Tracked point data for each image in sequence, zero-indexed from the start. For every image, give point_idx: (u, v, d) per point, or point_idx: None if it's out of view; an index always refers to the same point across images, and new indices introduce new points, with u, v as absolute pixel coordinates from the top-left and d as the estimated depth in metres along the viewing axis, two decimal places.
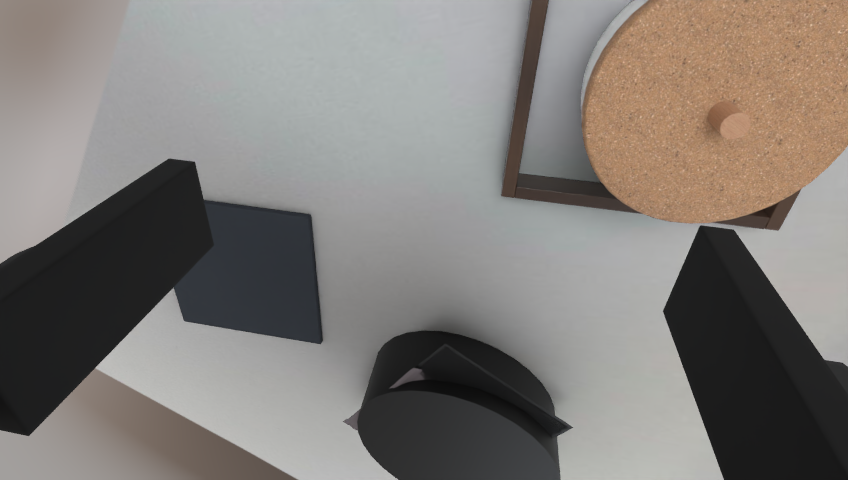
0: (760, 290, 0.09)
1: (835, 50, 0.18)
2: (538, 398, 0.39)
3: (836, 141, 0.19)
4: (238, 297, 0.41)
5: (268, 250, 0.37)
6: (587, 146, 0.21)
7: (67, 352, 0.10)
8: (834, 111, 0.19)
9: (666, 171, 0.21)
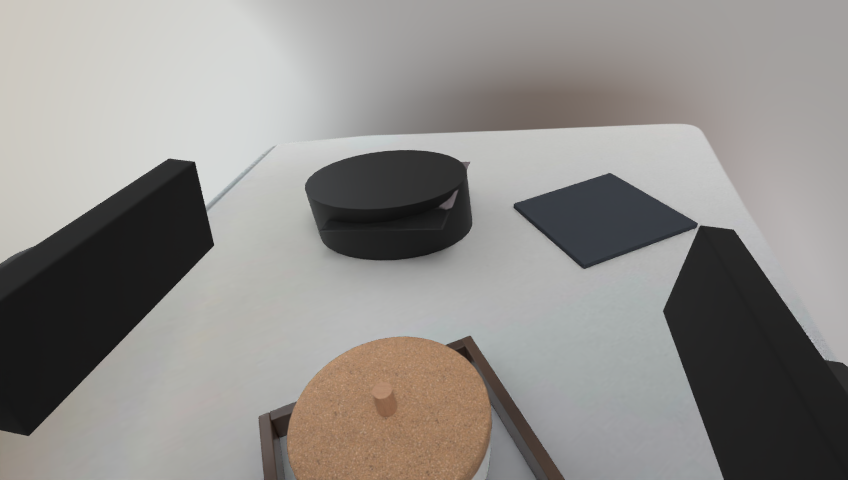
0: (760, 290, 0.09)
1: (343, 477, 0.22)
2: (348, 241, 0.50)
3: (298, 434, 0.25)
4: (588, 201, 0.53)
5: (593, 234, 0.48)
6: None
7: (67, 352, 0.10)
8: (314, 447, 0.24)
9: (395, 363, 0.27)
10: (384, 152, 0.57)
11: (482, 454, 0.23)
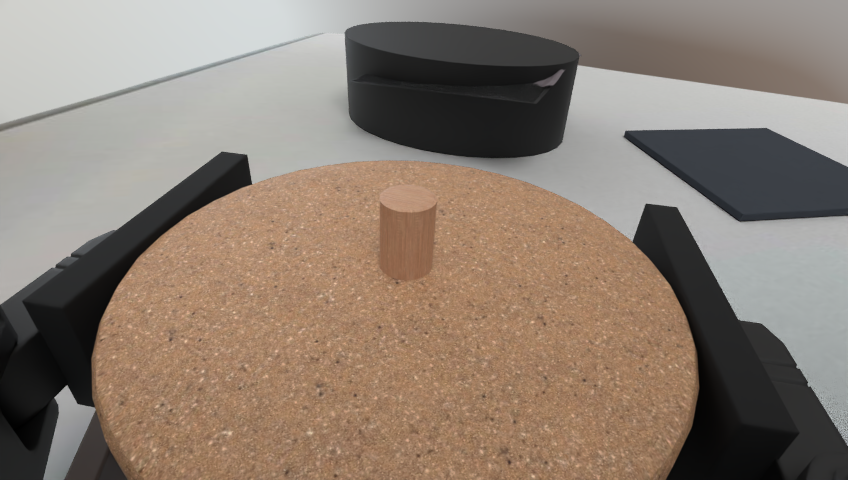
0: (690, 259, 0.10)
1: (223, 394, 0.07)
2: (386, 113, 0.34)
3: (159, 263, 0.09)
4: (738, 148, 0.36)
5: (752, 183, 0.31)
6: (584, 208, 0.12)
7: None
8: (181, 298, 0.08)
9: (443, 194, 0.12)
10: (462, 25, 0.41)
11: (681, 447, 0.07)
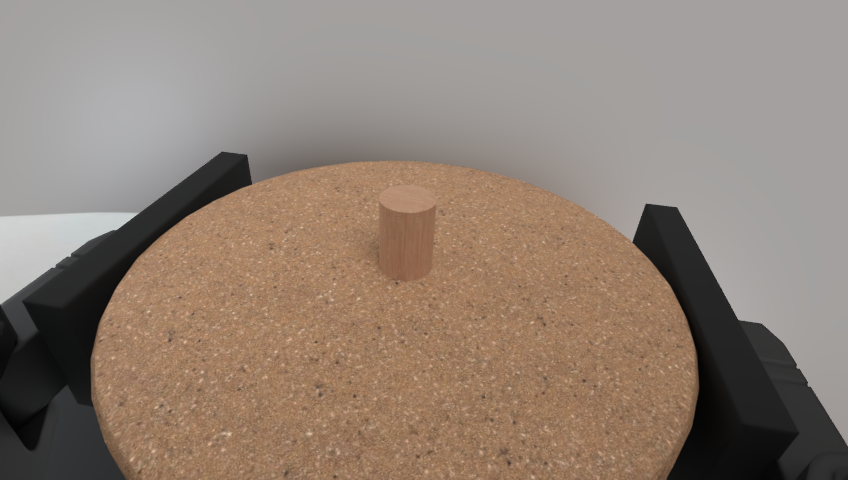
0: (690, 259, 0.10)
1: (222, 395, 0.07)
2: None
3: (158, 264, 0.09)
4: None
5: None
6: (584, 209, 0.12)
7: None
8: (181, 298, 0.08)
9: (443, 194, 0.12)
10: None
11: (681, 447, 0.07)
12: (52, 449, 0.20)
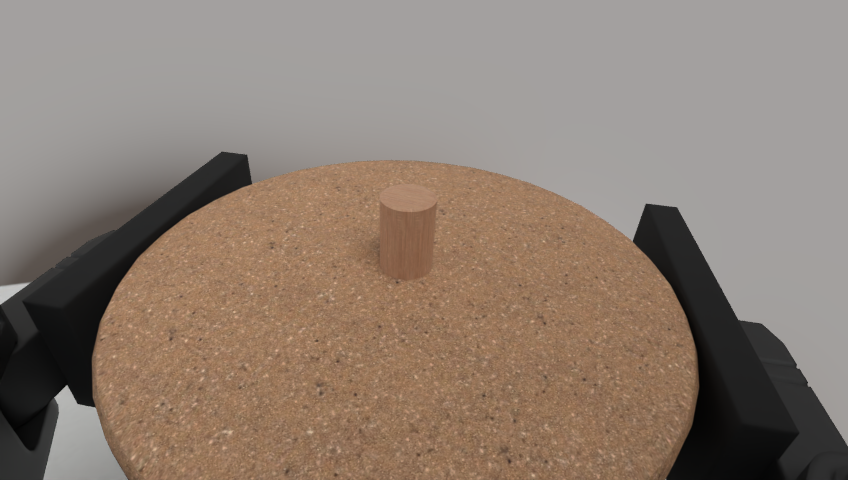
0: (690, 259, 0.10)
1: (223, 393, 0.07)
2: None
3: (158, 263, 0.09)
4: None
5: None
6: (584, 208, 0.12)
7: None
8: (182, 297, 0.08)
9: (443, 194, 0.12)
10: None
11: (681, 446, 0.07)
12: None
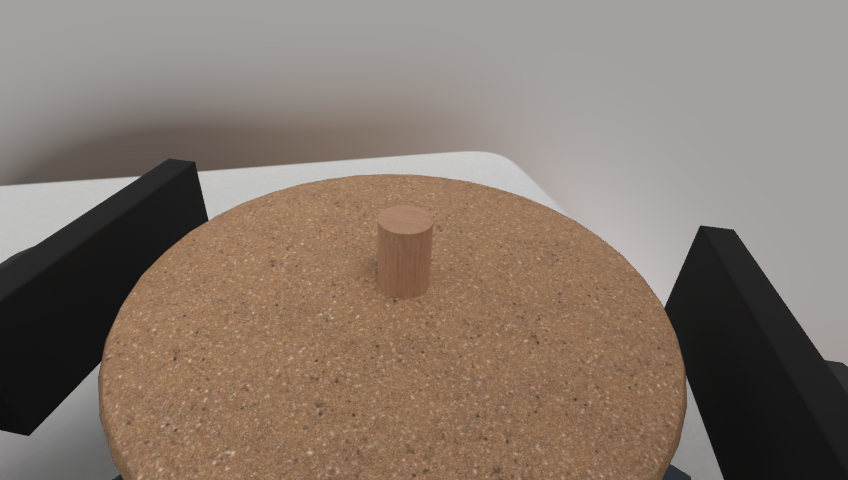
0: (760, 290, 0.09)
1: (226, 414, 0.07)
2: None
3: (162, 281, 0.09)
4: None
5: None
6: (579, 224, 0.12)
7: (67, 352, 0.10)
8: (185, 316, 0.09)
9: (440, 210, 0.12)
10: None
11: (668, 464, 0.07)
12: None
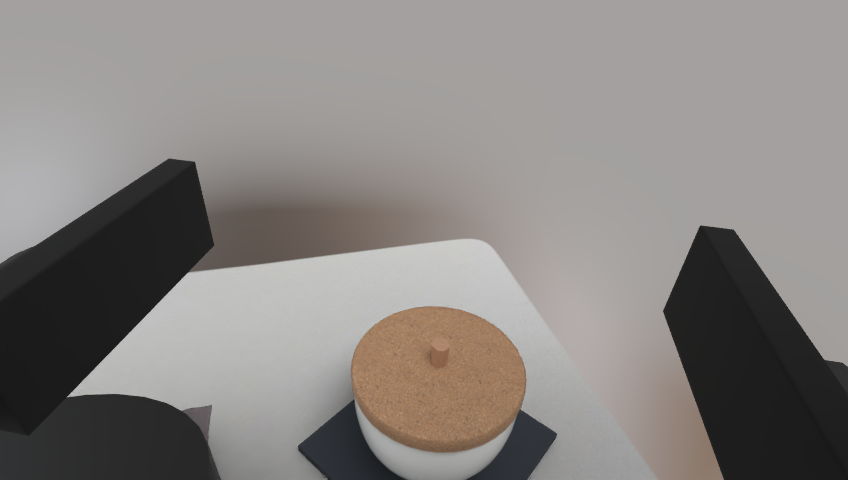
0: (760, 290, 0.09)
1: (396, 403, 0.27)
2: None
3: (362, 361, 0.29)
4: None
5: None
6: (503, 333, 0.32)
7: (67, 352, 0.10)
8: (375, 375, 0.28)
9: (450, 328, 0.32)
10: None
11: (513, 417, 0.27)
12: None
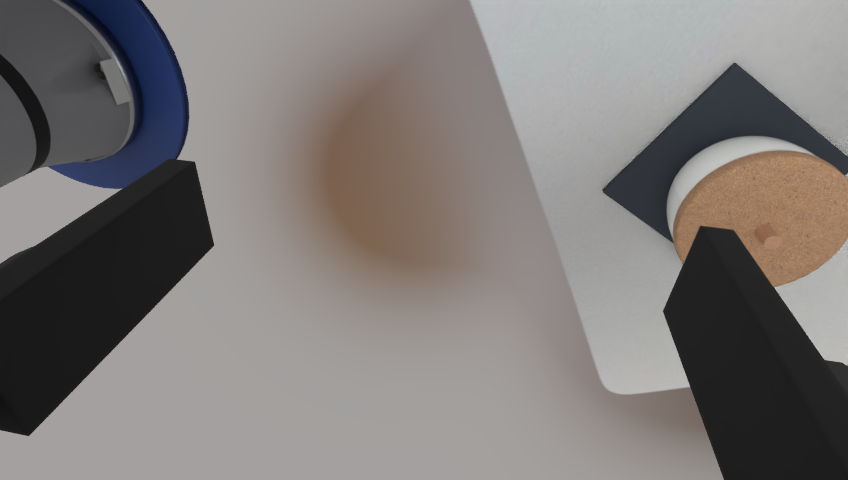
0: (760, 290, 0.09)
1: (819, 187, 0.30)
2: None
3: (844, 226, 0.31)
4: None
5: (728, 130, 0.37)
6: None
7: (67, 352, 0.10)
8: (834, 214, 0.31)
9: None
10: None
11: (703, 183, 0.32)
12: None
